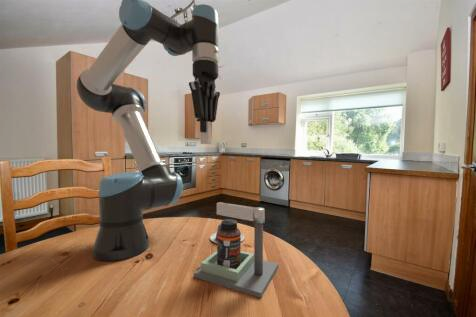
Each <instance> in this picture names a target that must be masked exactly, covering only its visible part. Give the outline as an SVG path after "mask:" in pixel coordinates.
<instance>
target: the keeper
mask: <svg viewBox="0 0 476 317" xmlns="http://www.w3.org/2000/svg"><path fill="white" fill-rule="evenodd" d="M216 215H218V216H223V217H229V218H235V219H239V220H244V221H251V222H253V224H254V223H263V224H264V223H266V222H265V220H266V218H265V215H266V213H265V208H264V207H259V206H258V207H254V206H248V205H247V206H246V205H241V204H234V203H228V202H227V203H226V202H221V201H220V202H216Z"/></svg>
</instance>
